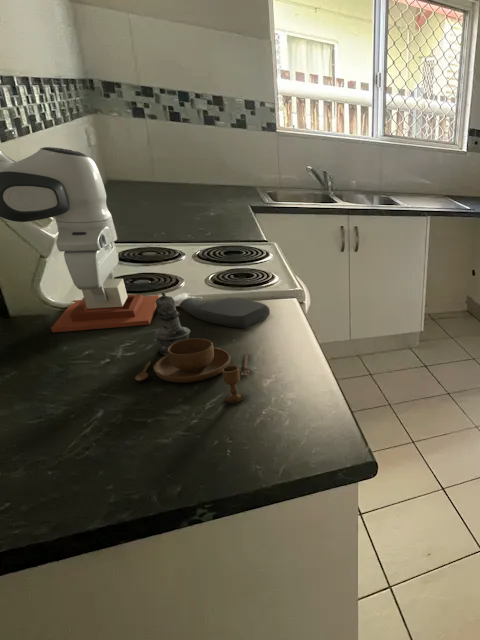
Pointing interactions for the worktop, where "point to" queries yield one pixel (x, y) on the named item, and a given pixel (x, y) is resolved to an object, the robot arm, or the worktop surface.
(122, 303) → the beige block
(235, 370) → the place setting
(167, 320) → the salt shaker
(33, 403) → the worktop surface
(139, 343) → the worktop surface
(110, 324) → the base pad
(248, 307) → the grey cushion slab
